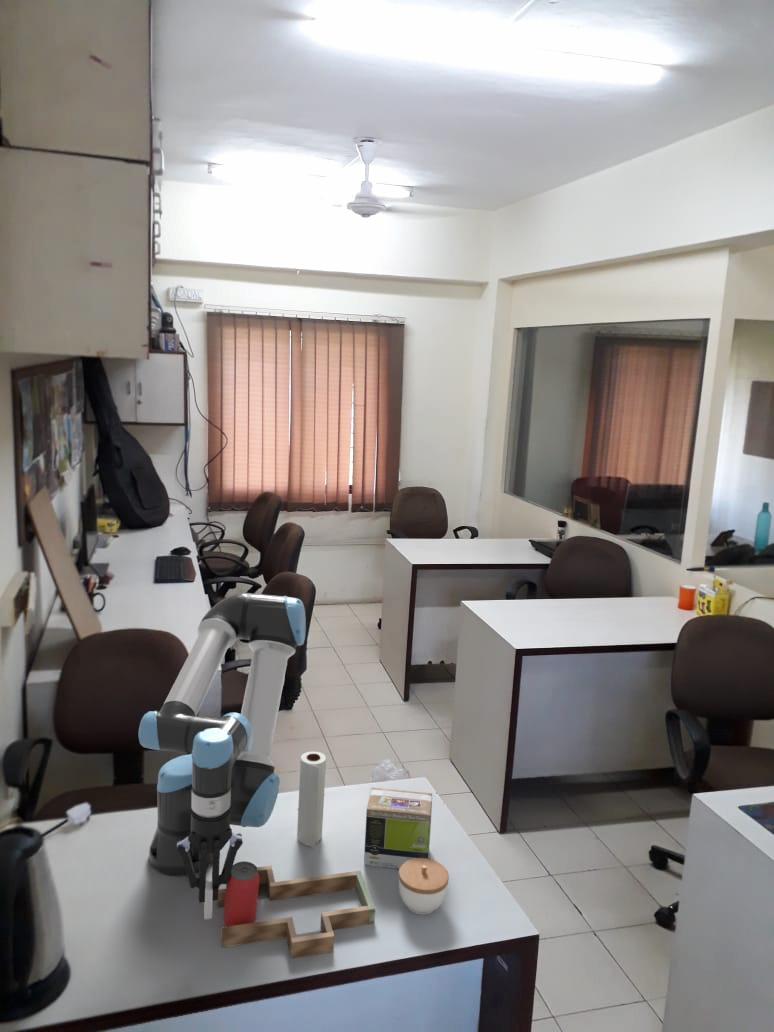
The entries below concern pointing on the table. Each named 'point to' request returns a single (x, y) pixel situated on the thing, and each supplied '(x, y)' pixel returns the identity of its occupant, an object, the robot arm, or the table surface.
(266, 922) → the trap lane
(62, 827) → the table surface
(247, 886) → the beer can
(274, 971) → the table surface
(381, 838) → the tea box
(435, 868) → the lidded jar
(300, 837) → the paper towel roll
